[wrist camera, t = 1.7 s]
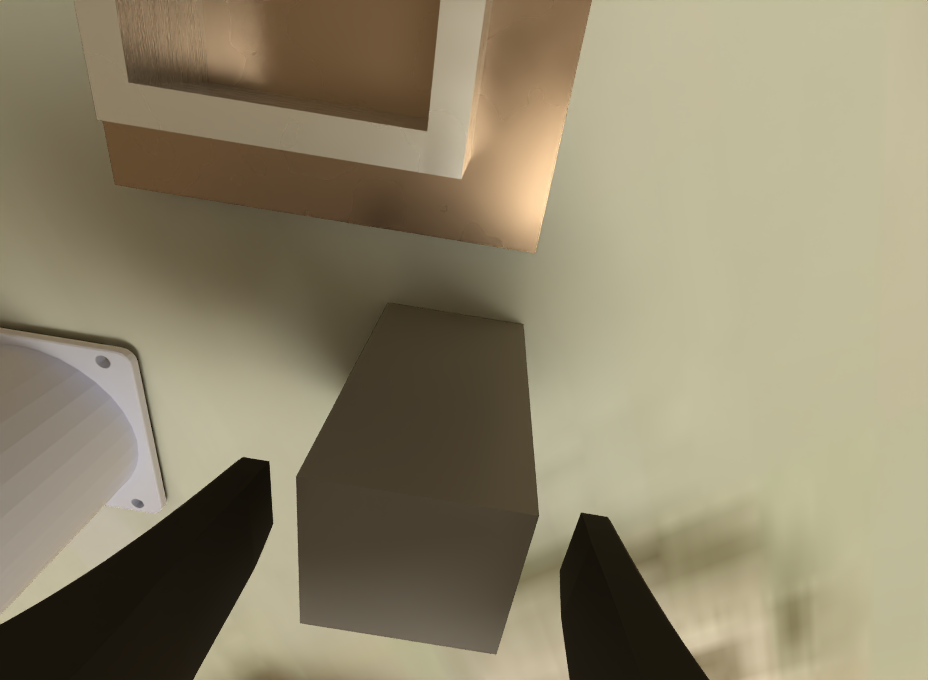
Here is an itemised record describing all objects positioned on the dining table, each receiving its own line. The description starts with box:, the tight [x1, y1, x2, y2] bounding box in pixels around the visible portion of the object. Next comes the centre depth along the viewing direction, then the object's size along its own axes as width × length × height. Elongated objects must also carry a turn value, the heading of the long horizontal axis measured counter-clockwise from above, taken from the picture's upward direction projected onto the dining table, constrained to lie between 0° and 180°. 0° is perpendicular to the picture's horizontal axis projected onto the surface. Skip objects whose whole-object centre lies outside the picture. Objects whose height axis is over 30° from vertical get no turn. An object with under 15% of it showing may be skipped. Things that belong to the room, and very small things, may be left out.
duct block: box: [296, 303, 539, 654], centre depth 13 cm, size 4×4×8 cm
